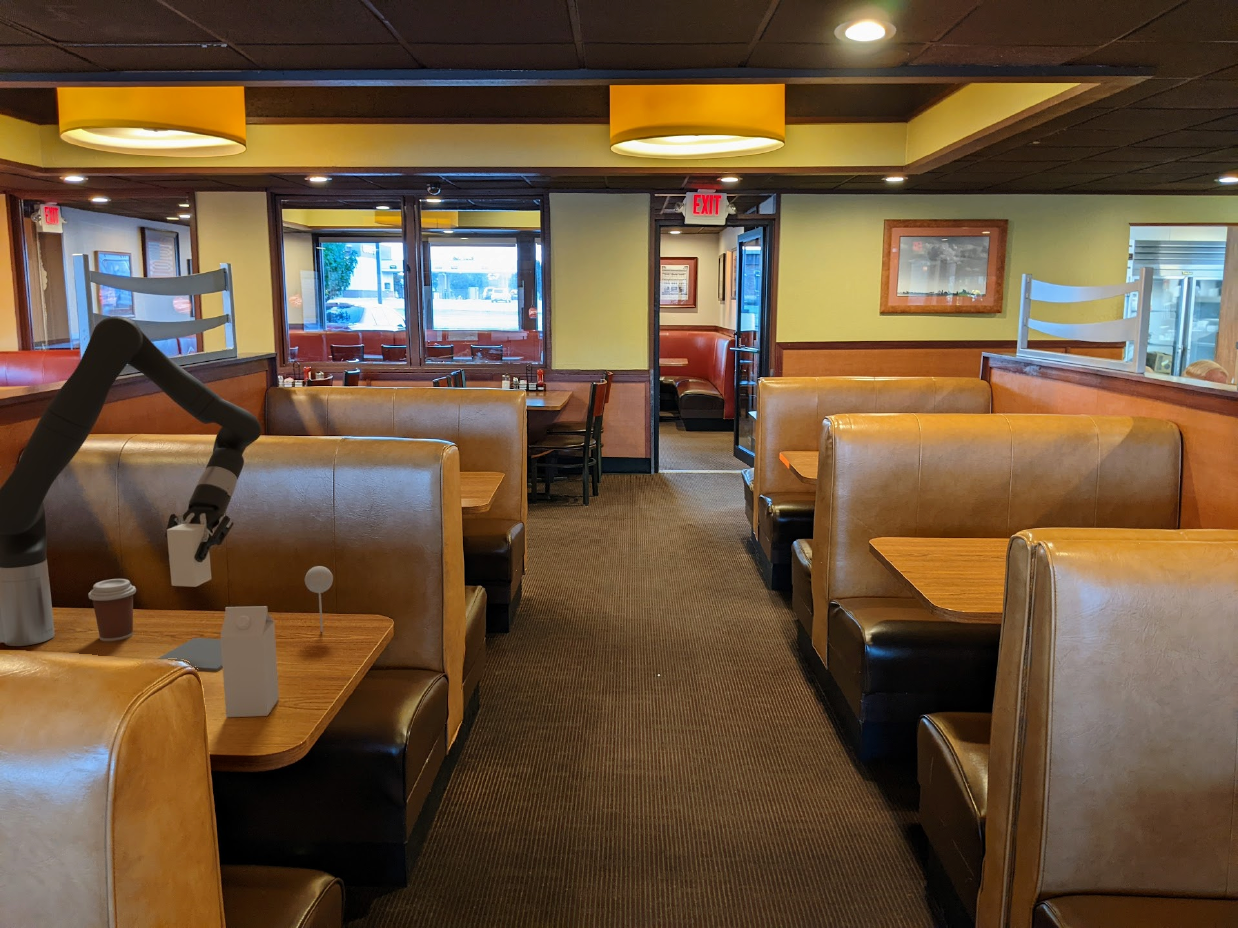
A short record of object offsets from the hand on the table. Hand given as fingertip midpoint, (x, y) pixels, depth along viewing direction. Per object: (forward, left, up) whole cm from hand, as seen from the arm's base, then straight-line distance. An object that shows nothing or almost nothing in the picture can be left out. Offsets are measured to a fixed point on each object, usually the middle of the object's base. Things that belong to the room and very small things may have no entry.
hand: (184, 559), depth 189 cm
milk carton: (+29, -25, -20) cm, 43 cm away
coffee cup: (-21, +4, -20) cm, 28 cm away
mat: (+5, -3, -19) cm, 20 cm away
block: (0, +2, -6) cm, 6 cm away
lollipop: (+22, +14, -19) cm, 33 cm away
